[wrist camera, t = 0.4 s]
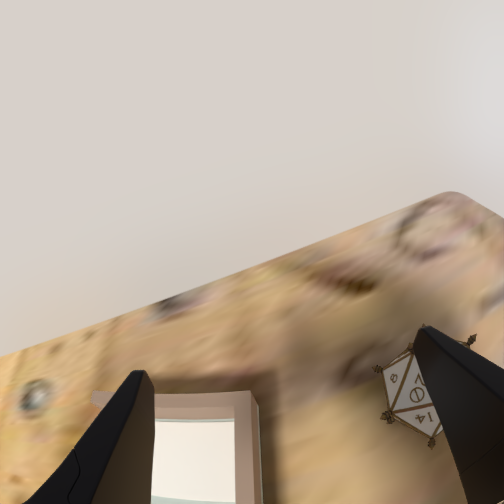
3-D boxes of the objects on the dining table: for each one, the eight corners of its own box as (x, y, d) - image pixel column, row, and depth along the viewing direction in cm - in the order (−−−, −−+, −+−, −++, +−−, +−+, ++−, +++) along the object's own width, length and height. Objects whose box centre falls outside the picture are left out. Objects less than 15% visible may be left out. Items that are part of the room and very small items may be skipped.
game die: (412, 432, 20) (449, 483, 10) (344, 389, 23) (357, 434, 13) (468, 352, 20) (530, 366, 11) (404, 304, 23) (451, 298, 13)
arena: (265, 550, 12) (256, 559, 10) (100, 526, 14) (73, 522, 11) (258, 406, 22) (250, 390, 20) (115, 406, 23) (93, 390, 21)
